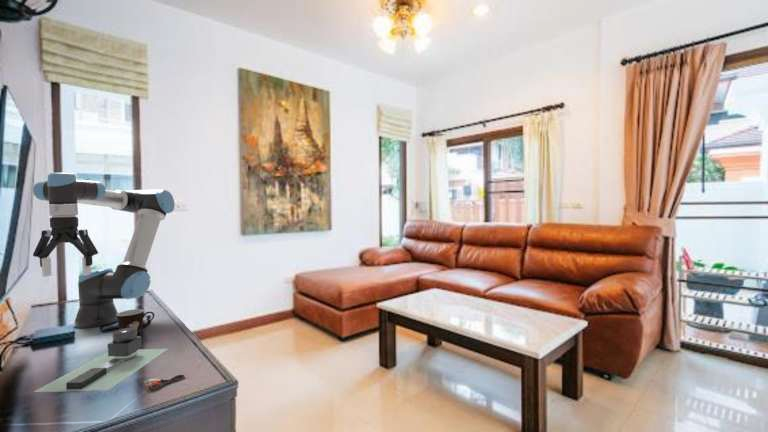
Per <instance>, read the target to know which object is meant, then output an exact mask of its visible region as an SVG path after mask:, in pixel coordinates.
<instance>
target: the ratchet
mask: <svg viewBox="0 0 768 432" xmlns="http://www.w3.org/2000/svg"><path fill="white" fill-rule="evenodd" d="M136 356H137V351H136V352H134V353H132V354H131V355H129V356H114V359H112V360H110V361H109V362H107V363H105V364H103V365H102V366H100V367H98V368H92V369H90V370H88V371H86V372H85V373H83V374H81V375H79V376H78V377H76V378H74V379H72V380H71V381H69V382H67V383H66V388H67V389H82V388H84V387H86V386H87V385H89V384H90V383H92V382H94V381H95V380H97V379H98V378H100V377H102V376H103V375H105V374H107V372H108V371H110V370H112V369H113V368H115V367H117V366H118V365H120V364H121V363H123V362H124V361H128V360H131V359H134V358H135V357H136Z"/></svg>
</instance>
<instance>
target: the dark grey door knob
mask: <svg viewBox="0 0 768 432" xmlns="http://www.w3.org/2000/svg"><path fill="white" fill-rule="evenodd" d="M142 342H143V341H142V335H141V336H137V329H136V328H124V329H120V330H119V329H117V330H114V331H112V341H111V342H109V343H107V352H108V356H129V355H131V354H132V353H134V352H136V351H137V350H139V349H142V348H143V347H142V346H143V345H142V344H143V343H142Z"/></svg>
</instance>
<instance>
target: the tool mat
mask: <svg viewBox="0 0 768 432" xmlns="http://www.w3.org/2000/svg"><path fill="white" fill-rule="evenodd" d="M168 350H169V348H148V349H147V348H144V349H142V348H141V349H139V350H137V356H136V357H135V358H134V359H131V360H128V361H124V362H123V363H121V364H120V365H118V366H117V367H115V368H113V369H112V370H110V371H108V372H107V374H105V375H103V376H102V377H100V378H98V379H97V380H95V381H94V382H92V383H90V384H89V385H87V386H86V387H84V388H82V389H67V388H66V383H67V382H69V381H71V380H72V379H74V378H76V377H78V376H79V375H81V374H83V373H85V372H86V371H88V370H90V369H92V368H98V367H100V366H102V365H103V364H105V363H107V362H109V361H110V360H112V359H114V356H108V351H106V352H105V353H103V354H101V355H99V356H97V357H95V358H93V359H92V360H89V361H88V362H86V363H84V364H82V365H81V366H78V367H77V368H75V369H74V370H71V371H69V372H68V373H66V374H64V375H62V376H60V377H59V378H56V379H55V380H53V381H51V382H49V383H47V384H46V385H44V386H42V387H39V388H38V389H36V390H35V391H33V393H54V392H55V393H56V392H57V393H58V392H90V391H91V392H93V391H110V390H111V389H113V388H114V387H115V386H118V385H119V384H120V383H121V382H123V381H124V380H126V379H127V378H128V377H130V376H131V375H133V374H134V373H136V372H138V371H139V370H140V369H142V368H143V367H144V366H146V365H147V364H149V363H151V362H152V361H154V360H155V359H156V358H158V357H159V356H161V355H162V354H164V353H165V352H166V351H168Z"/></svg>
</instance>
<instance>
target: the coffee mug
mask: <svg viewBox="0 0 768 432" xmlns="http://www.w3.org/2000/svg"><path fill="white" fill-rule="evenodd" d="M147 314H151V315H152V317H151V319H149V321H147V322H146V323H145V324H144V325H143V322H144V318H145V316H146V315H147ZM116 316H117V321H116V322H117V325H118V330H120V329H124V328H136V329H137V336H141V337H142V334H143V329H144V328H145V327H146V326H148V325H149V324H150V323H151V322H152V321H153V320H154V318H155V313H154V312H153V311H146V312H145V310H144V309H140V308H135V309H129V310H123V311H120V312H118V313H117V314H116Z"/></svg>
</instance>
